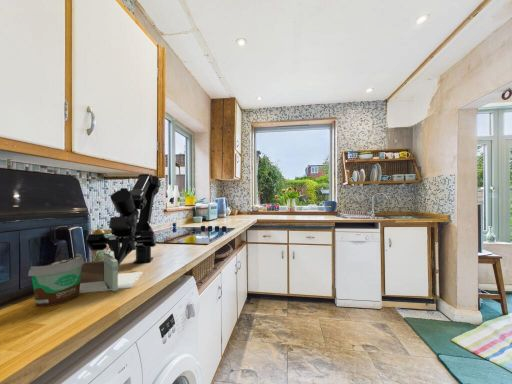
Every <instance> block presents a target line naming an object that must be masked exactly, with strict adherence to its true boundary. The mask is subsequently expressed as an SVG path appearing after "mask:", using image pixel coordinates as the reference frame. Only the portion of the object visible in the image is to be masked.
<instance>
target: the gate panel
mask: <svg viewBox="0 0 512 384" xmlns="http://www.w3.org/2000/svg"><path fill="white" fill-rule="evenodd" d="M103 261H104V281H105V282H106V284H107V285H108V286H109V287H110V289H111V290H110V291H112V292H115V291H116V292H117V291H118V290H119V289H118V274H119V265H118V261H117V260H116V259H115V258H114V256H112V255H111V254H110V253H103Z"/></svg>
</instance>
